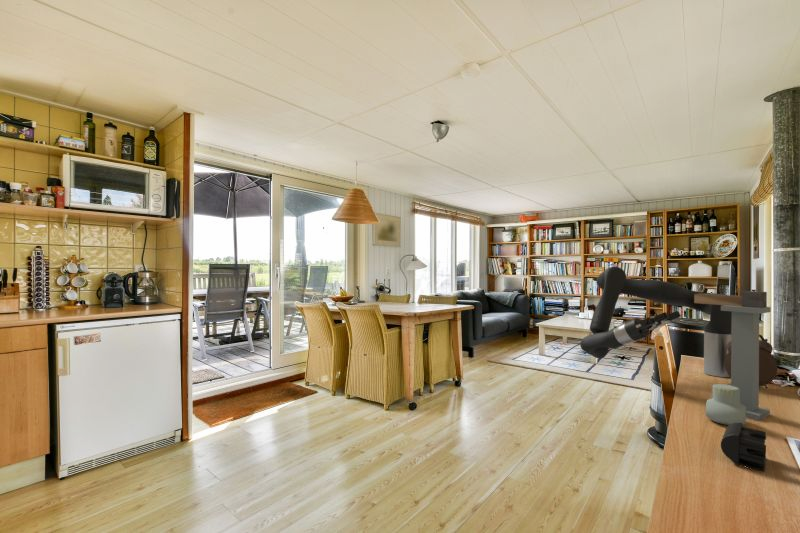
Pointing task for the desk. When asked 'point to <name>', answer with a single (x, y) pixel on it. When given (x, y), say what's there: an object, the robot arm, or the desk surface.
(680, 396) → the desk surface
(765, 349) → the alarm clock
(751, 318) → the stand
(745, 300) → the mallet
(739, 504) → the desk surface
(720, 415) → the air freshener
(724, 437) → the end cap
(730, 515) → the desk surface
